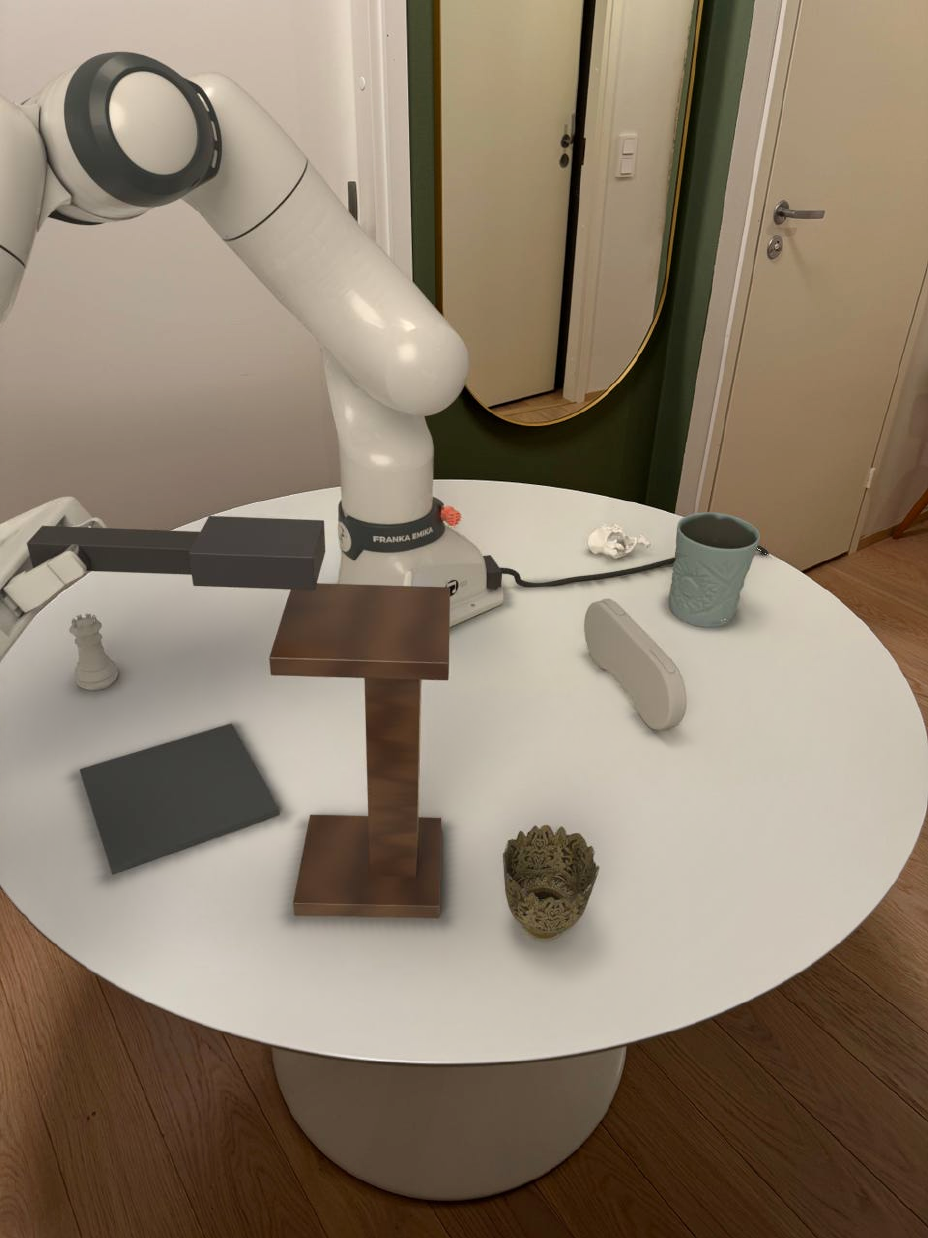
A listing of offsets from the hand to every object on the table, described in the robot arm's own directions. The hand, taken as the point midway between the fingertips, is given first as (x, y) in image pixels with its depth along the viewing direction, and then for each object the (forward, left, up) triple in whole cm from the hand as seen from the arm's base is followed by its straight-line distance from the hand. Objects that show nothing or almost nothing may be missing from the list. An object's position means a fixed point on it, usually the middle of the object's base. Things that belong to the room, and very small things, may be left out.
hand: (92, 543), depth 59 cm
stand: (-16, +9, -32) cm, 36 cm away
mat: (-4, -8, -32) cm, 33 cm away
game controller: (-53, -1, -32) cm, 61 cm away
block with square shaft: (-5, +3, -1) cm, 6 cm away
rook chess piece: (-1, -30, -32) cm, 44 cm away
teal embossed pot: (-73, -10, -32) cm, 80 cm away
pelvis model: (-73, -28, -32) cm, 84 cm away
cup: (-26, +21, -32) cm, 46 cm away
